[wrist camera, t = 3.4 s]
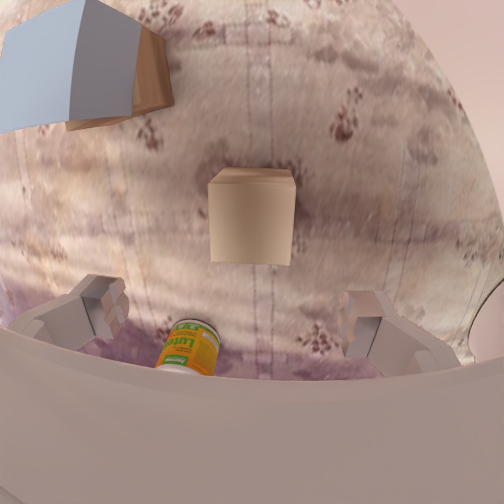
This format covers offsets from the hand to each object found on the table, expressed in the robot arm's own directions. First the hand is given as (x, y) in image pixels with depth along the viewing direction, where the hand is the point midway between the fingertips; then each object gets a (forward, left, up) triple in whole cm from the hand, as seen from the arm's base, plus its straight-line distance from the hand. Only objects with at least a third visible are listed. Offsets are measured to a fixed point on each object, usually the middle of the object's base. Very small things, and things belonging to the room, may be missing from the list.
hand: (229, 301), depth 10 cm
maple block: (0, 0, -14) cm, 14 cm away
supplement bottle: (+6, +15, -14) cm, 21 cm away
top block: (+10, -10, -8) cm, 16 cm away
